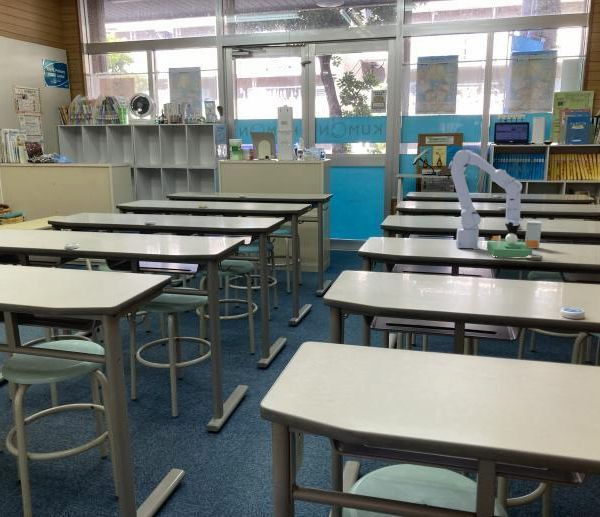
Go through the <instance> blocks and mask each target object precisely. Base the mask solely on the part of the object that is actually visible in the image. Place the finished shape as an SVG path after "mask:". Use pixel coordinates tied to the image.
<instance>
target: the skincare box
mask: <svg viewBox="0 0 600 517" xmlns="http://www.w3.org/2000/svg"><path fill="white" fill-rule="evenodd" d="M542 223H543V222H542V221H538V220H537V221H536V220H535V221H533V220H528V221H527V222H526V226H525V227H526V228H525V237H524V238H525V239H524V244H525V245H526V246H528V247H529V248H530V249H533V248H538V249H539V248H540V244H541V243H540V242H541V234H542V233H541V232H542V225H543V224H542Z"/></svg>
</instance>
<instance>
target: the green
mask: <svg viewBox="0 0 600 517" xmlns="http://www.w3.org/2000/svg"><path fill="white" fill-rule="evenodd" d="M501 238H502V236H501V235H492V240H486V242H487V243H486V250H487V249H488V250H489V251H488V250H487V251H488V253H489V254H490V253H491V254H492V255H493V256H495V257H496V256H497V257H526V256H528V255H532V256H533V250H532V248H529V247H528V246H526V245H525V242H523V241H517V242H516V243H515V244H514V245H509V244H507V243H506V241H501ZM491 254H490V255H491ZM492 255H491V256H492ZM493 256H492V257H493Z"/></svg>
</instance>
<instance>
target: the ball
mask: <svg viewBox="0 0 600 517" xmlns="http://www.w3.org/2000/svg"><path fill="white" fill-rule="evenodd" d="M504 242H506V243H507V244H509V245H514V244H515V243H516V242H518V236H517V234H516V235H515V234H513V233H510V234H508V233H507V234H506V236H505V241H504Z"/></svg>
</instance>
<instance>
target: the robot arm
mask: <svg viewBox="0 0 600 517" xmlns="http://www.w3.org/2000/svg"><path fill="white" fill-rule="evenodd" d="M469 165H470V166H471V165H472V166H477V167H479V168H480V169H481V170H483V171H484V172H486V173H487V174H488V175H490V176H491V180H492V181H493V182H494V183H496V184H497V185H498V186H499V187H501V188H502V189H504V191H505V193H506V199H505V200H506V202H505V218H504V221H505V222H508V223H504V226H505V227H506V231H507V235H508V234H510V233H513V234H515V235H516V236H517V233H518V230H519V228H520V227H521V224H520V222H522V221H523V220H524V219H523V218H521V200H522V199H521V192H522V189H523V184H522V182H520V180H518V179H516V178H515V177H514V176H513V177H512V176H511V175H510V174H509V173H507V171H506V170H505V169H503V170H502V168H498V169H497V168H495V167H494V166H493V165H491V164H490V163H489V162H488V161H487V160H485V159H484V158H483V157H482V156H480V155H479V154H478V153H476V152H474V151H473V150H471V149H460V150H458V151H456V152H455V155H454V156H453V157H452V164H451V168H450V174H451V178H452V181H453V184H454V189H455V191H456V195H457V198H458V199H457V200H458V202H459V205H460V208H461V212H460V216H461V218H460V219H461V220H460V221H461V222H460V223H461V226H462V227H461V228H460V227H458V228H457V230H456V240H455V246H456V245H457V246H456V248H457V249H459V248H473V249H472V250H480V247H479V244H478V243H479V230H480V228H479V225H480V223H481V216H480V214H479V213H478V212H477V209H476V207H475V206H474V205H473V201H472V198H471V195H470V191H469V187H468V184H467V181H466V177H465V173H464V172H465V171H466V170H467V167H468V166H469Z"/></svg>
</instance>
